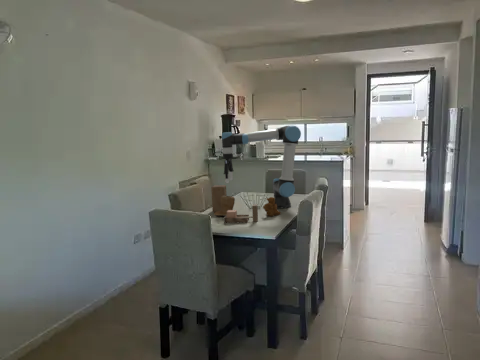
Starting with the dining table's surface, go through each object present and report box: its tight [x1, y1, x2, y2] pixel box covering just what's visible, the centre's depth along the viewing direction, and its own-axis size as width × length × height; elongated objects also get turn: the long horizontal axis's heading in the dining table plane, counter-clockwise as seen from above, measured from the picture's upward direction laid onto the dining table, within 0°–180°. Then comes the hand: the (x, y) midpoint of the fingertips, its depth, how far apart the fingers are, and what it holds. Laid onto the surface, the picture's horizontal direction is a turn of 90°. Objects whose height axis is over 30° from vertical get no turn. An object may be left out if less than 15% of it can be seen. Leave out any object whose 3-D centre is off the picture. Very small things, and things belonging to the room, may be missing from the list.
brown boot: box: [213, 195, 236, 217], centre depth 298 cm, size 15×12×15 cm
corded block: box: [227, 203, 259, 223], centre depth 278 cm, size 21×6×11 cm, turn 81°
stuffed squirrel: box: [262, 196, 282, 217], centre depth 292 cm, size 10×14×13 cm
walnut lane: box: [223, 214, 250, 224], centre depth 279 cm, size 16×10×4 cm, turn 82°
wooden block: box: [210, 184, 228, 213], centre depth 315 cm, size 10×10×20 cm
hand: (229, 181), depth 299 cm, fingers open, 13 cm apart
